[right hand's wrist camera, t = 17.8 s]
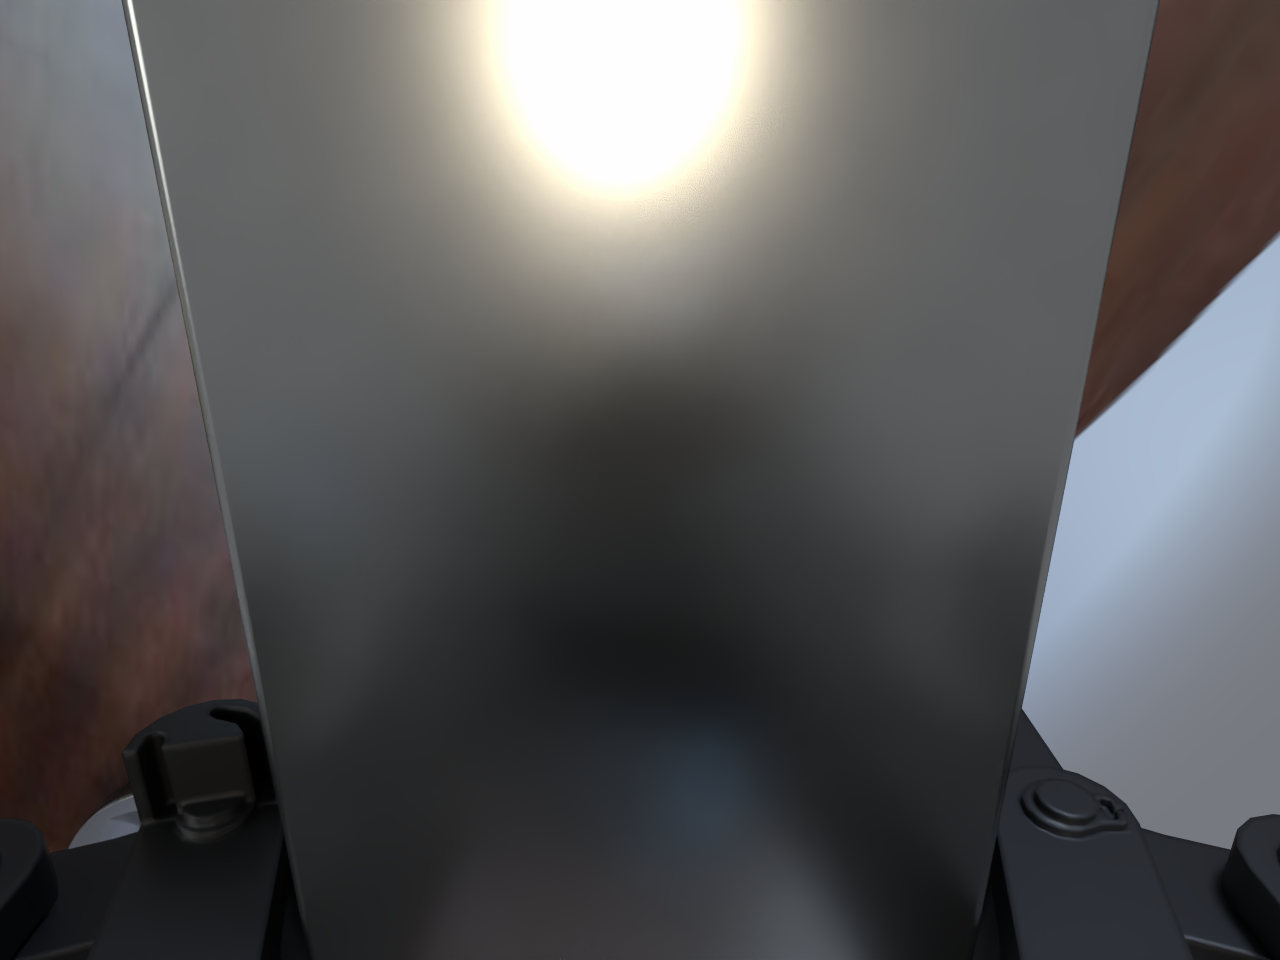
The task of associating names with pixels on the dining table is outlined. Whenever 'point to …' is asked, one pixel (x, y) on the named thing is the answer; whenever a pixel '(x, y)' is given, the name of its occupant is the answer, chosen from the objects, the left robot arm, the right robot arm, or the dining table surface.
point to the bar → (640, 444)
